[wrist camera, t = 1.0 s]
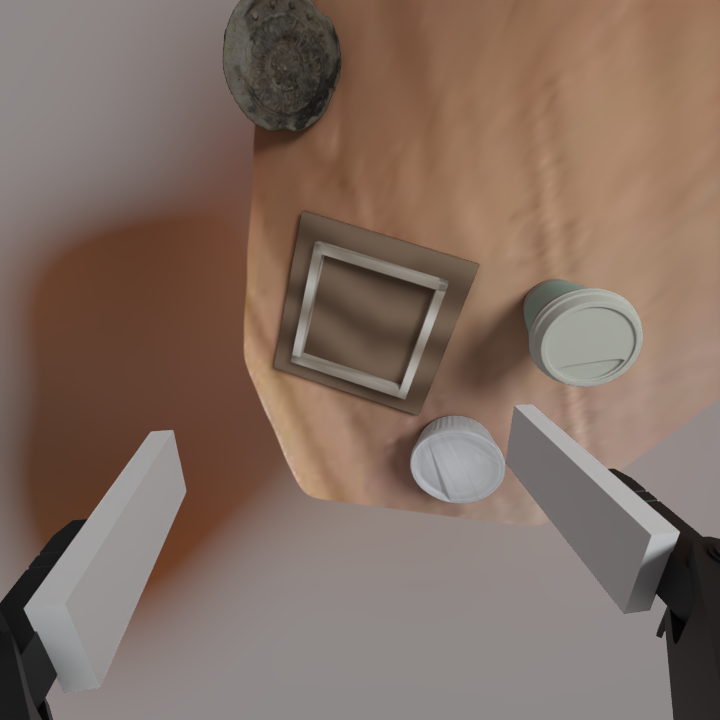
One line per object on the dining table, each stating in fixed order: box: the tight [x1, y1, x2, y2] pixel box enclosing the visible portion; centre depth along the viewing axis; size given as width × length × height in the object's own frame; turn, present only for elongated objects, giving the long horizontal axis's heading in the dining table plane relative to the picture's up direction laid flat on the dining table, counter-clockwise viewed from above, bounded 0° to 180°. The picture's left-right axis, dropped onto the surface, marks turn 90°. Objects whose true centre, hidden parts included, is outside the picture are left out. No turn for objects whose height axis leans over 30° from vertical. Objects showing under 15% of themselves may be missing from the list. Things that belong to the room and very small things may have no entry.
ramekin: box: [410, 415, 505, 503], centre depth 49 cm, size 11×11×5 cm
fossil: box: [223, 0, 341, 131], centre depth 35 cm, size 11×9×10 cm
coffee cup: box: [523, 279, 643, 387], centre depth 36 cm, size 8×8×12 cm
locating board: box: [274, 211, 479, 416], centre depth 45 cm, size 20×20×2 cm
